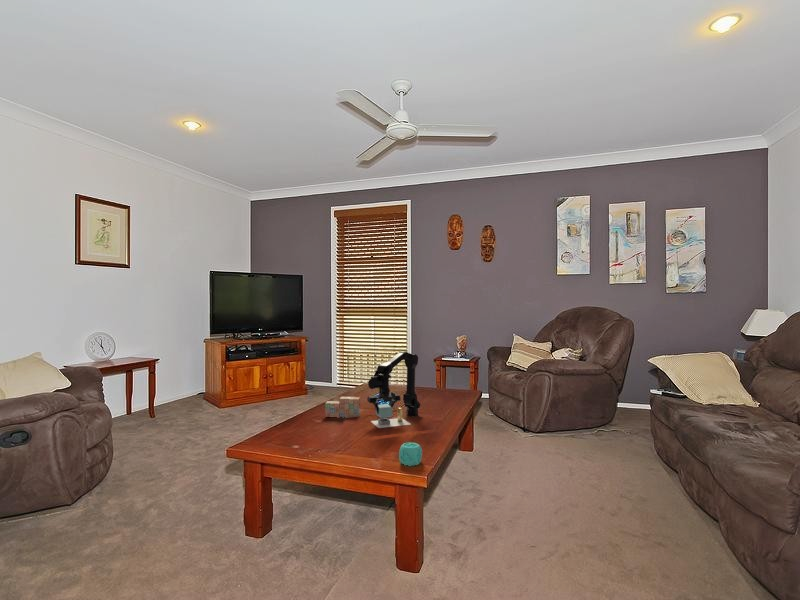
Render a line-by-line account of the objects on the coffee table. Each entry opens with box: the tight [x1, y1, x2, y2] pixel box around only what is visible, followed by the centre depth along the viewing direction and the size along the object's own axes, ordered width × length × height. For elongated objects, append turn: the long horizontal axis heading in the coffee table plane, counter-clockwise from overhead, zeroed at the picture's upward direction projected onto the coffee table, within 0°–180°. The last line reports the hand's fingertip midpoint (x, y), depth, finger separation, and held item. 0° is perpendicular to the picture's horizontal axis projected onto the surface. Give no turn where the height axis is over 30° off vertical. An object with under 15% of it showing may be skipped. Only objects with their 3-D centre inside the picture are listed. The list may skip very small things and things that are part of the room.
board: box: [370, 417, 411, 429], centre depth 255 cm, size 20×15×4 cm
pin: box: [397, 407, 404, 422], centre depth 258 cm, size 3×3×8 cm
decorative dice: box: [398, 442, 423, 467], centre depth 196 cm, size 8×8×8 cm
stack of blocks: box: [324, 396, 361, 419], centre depth 274 cm, size 21×6×12 cm, turn 85°
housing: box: [375, 403, 394, 419], centre depth 254 cm, size 7×9×6 cm
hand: (384, 413), depth 254 cm, fingers closed on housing, 7 cm apart
